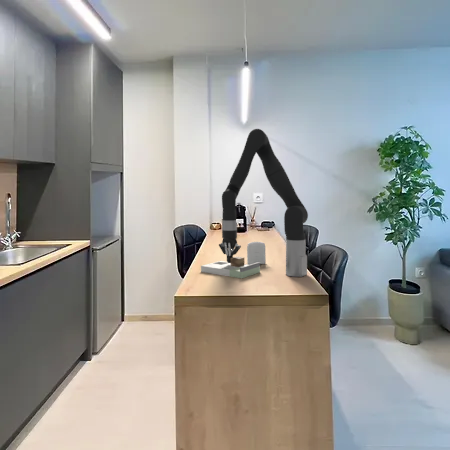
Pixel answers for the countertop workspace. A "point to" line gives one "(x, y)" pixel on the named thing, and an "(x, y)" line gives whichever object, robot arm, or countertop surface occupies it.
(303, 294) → the countertop surface
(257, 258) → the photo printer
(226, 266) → the box
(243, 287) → the countertop surface
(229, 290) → the countertop surface
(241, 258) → the walnut block
